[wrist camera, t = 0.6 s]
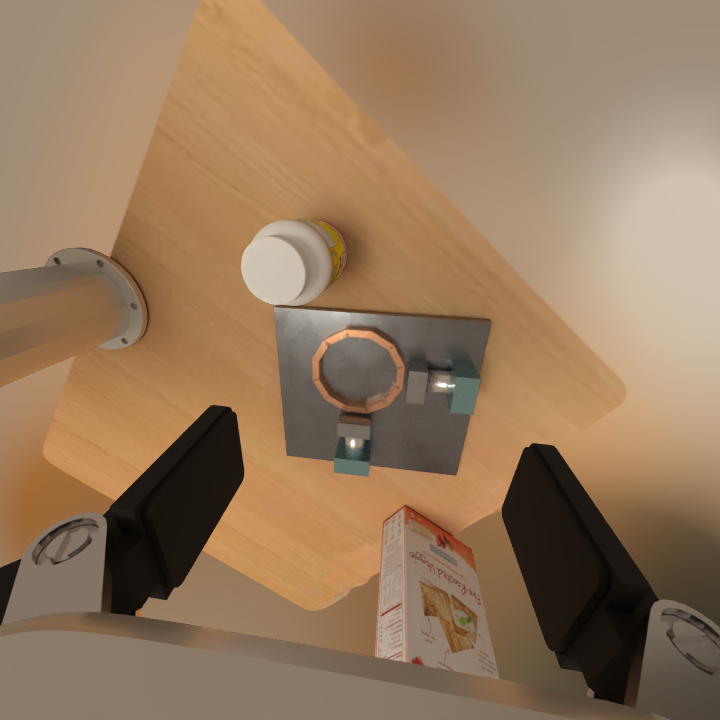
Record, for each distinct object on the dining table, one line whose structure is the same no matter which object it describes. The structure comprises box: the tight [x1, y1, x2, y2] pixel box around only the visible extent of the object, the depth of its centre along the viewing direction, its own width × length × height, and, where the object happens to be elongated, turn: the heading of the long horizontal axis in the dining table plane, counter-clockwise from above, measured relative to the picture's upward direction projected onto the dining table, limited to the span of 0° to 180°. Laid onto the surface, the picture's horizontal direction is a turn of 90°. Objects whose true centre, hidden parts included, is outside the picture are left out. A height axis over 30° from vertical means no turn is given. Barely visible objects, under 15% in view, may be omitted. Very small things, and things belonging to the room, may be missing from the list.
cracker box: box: [375, 506, 499, 679], centre depth 40 cm, size 14×6×21 cm, turn 54°
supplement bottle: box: [241, 219, 347, 306], centre depth 27 cm, size 7×7×13 cm
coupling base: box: [274, 305, 491, 477], centre depth 37 cm, size 24×22×5 cm
